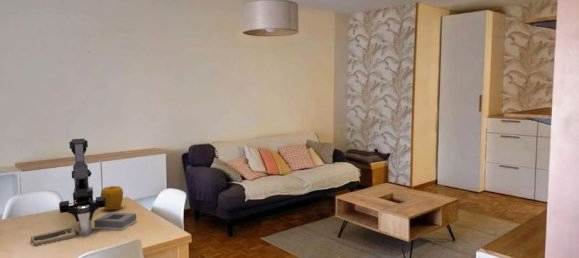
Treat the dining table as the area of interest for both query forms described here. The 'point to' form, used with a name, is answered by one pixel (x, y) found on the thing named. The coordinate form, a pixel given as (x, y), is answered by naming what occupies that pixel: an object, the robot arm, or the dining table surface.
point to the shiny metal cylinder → (84, 220)
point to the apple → (112, 197)
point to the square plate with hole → (115, 221)
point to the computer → (53, 236)
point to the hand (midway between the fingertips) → (84, 220)
